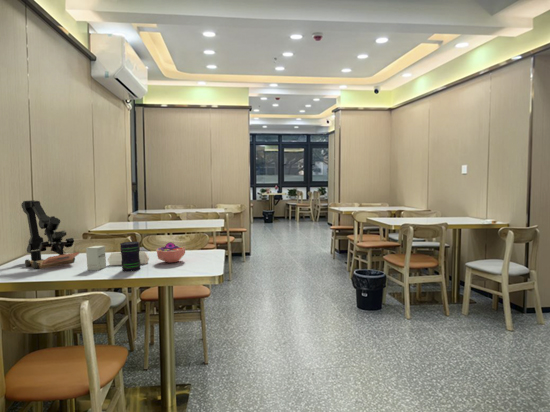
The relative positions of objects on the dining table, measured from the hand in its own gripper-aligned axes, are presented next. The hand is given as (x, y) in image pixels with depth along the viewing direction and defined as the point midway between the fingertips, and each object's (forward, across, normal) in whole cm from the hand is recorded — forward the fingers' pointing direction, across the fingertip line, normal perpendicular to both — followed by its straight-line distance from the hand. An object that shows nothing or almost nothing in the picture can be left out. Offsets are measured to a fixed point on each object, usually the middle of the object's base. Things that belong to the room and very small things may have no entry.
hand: (62, 255), depth 245 cm
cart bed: (-7, 0, +17) cm, 18 cm away
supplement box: (+22, +8, -12) cm, 26 cm away
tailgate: (-2, 0, +9) cm, 9 cm away
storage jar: (+37, +16, -27) cm, 49 cm away
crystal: (+26, +25, -16) cm, 39 cm away
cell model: (+40, +40, -30) cm, 64 cm away
